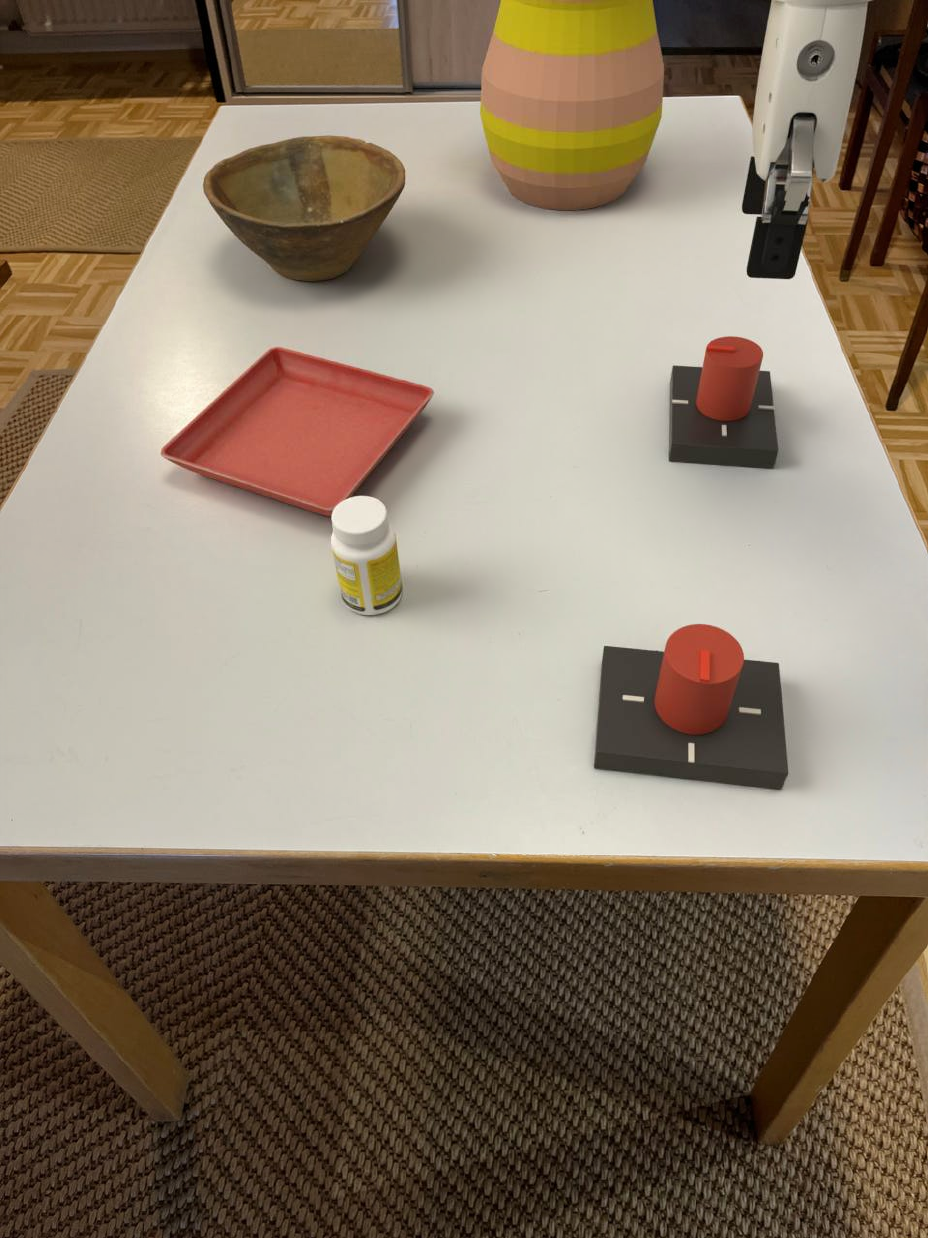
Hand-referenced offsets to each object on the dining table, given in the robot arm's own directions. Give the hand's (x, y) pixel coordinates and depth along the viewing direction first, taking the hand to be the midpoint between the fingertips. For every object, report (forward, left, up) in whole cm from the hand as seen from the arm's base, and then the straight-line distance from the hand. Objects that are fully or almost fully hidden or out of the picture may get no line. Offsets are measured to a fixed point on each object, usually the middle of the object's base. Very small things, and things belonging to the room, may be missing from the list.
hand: (766, 243), depth 67 cm
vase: (+18, -54, -20) cm, 60 cm away
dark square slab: (0, -5, -20) cm, 20 cm away
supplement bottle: (+27, +20, -20) cm, 39 cm away
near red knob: (+3, +29, -18) cm, 34 cm away
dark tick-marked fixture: (+3, +29, -20) cm, 35 cm away
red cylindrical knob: (0, -5, -18) cm, 18 cm away
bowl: (+45, -31, -20) cm, 58 cm away
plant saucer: (+37, +3, -20) cm, 42 cm away
